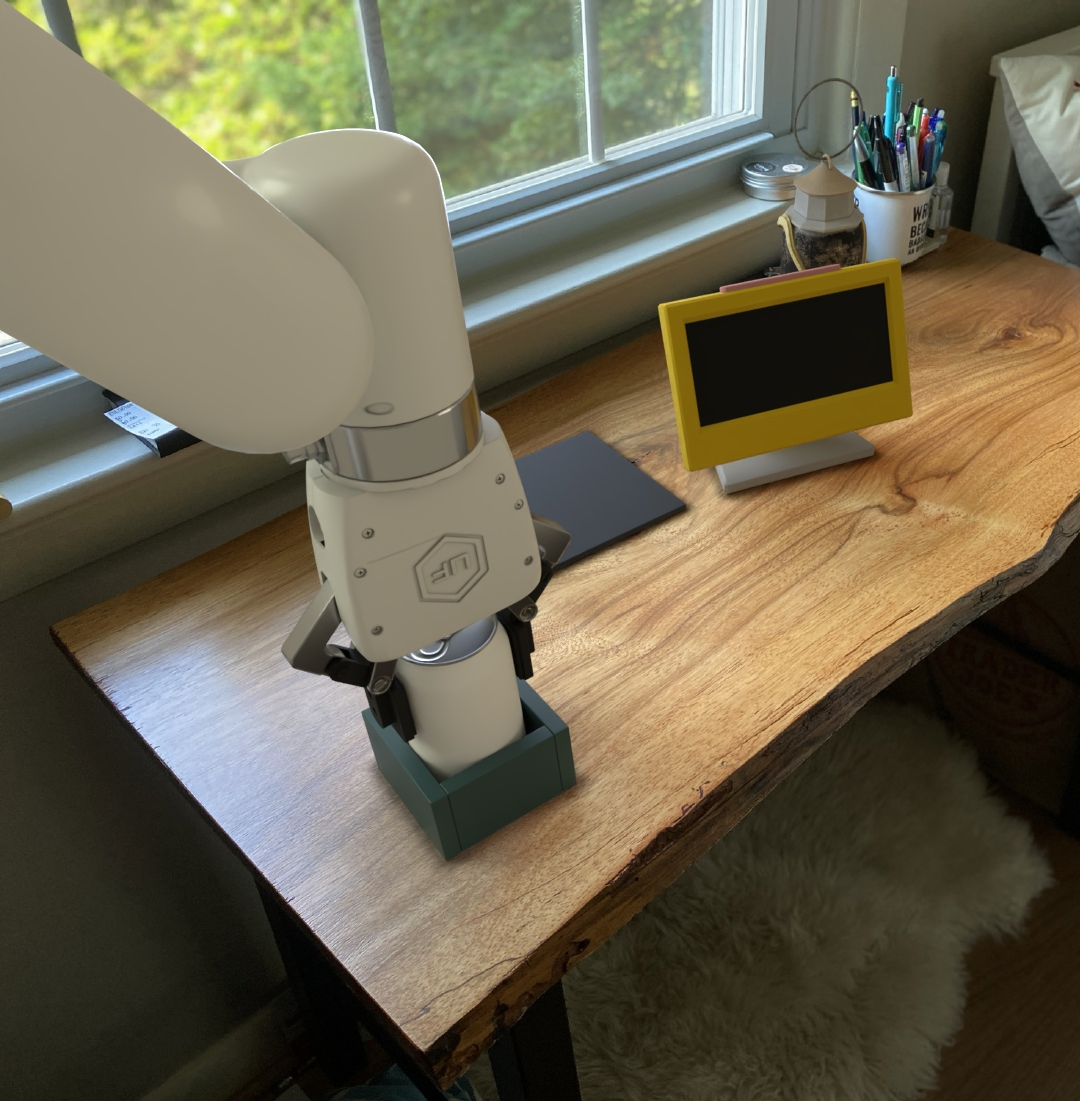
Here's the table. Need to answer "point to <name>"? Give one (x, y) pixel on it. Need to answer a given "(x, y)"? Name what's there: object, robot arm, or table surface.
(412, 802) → the box
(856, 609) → the table surface
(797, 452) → the yellow framed monitor
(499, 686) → the can
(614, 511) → the mat
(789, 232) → the lantern
